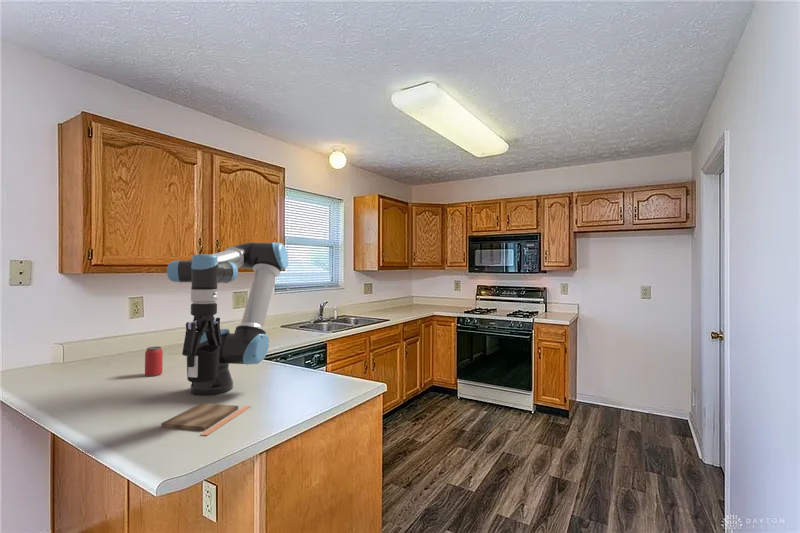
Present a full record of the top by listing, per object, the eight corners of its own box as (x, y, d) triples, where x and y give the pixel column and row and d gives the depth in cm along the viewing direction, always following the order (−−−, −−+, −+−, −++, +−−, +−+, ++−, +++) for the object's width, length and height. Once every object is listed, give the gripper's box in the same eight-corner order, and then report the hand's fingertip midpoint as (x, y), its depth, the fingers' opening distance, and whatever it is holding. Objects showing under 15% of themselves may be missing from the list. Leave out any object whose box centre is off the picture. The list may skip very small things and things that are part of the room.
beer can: (141, 375, 172) (141, 348, 172) (155, 372, 178) (156, 345, 178) (151, 377, 170) (152, 349, 170) (165, 373, 176) (166, 347, 176)
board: (161, 427, 118) (161, 423, 118) (200, 406, 135) (200, 403, 135) (203, 430, 115) (204, 426, 115) (238, 409, 133) (238, 405, 133)
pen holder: (216, 382, 122) (216, 350, 122) (182, 384, 120) (183, 351, 120) (221, 374, 131) (221, 344, 131) (189, 376, 129) (190, 345, 129)
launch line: (200, 435, 112) (200, 434, 112) (245, 406, 136) (245, 405, 136) (206, 436, 112) (206, 434, 112) (251, 406, 136) (251, 406, 136)
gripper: (191, 305, 114) (190, 383, 114) (234, 300, 136) (233, 365, 136) (168, 305, 115) (167, 381, 115) (214, 299, 137) (213, 364, 137)
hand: (202, 372), depth 125 cm, fingers closed on pen holder, 9 cm apart
